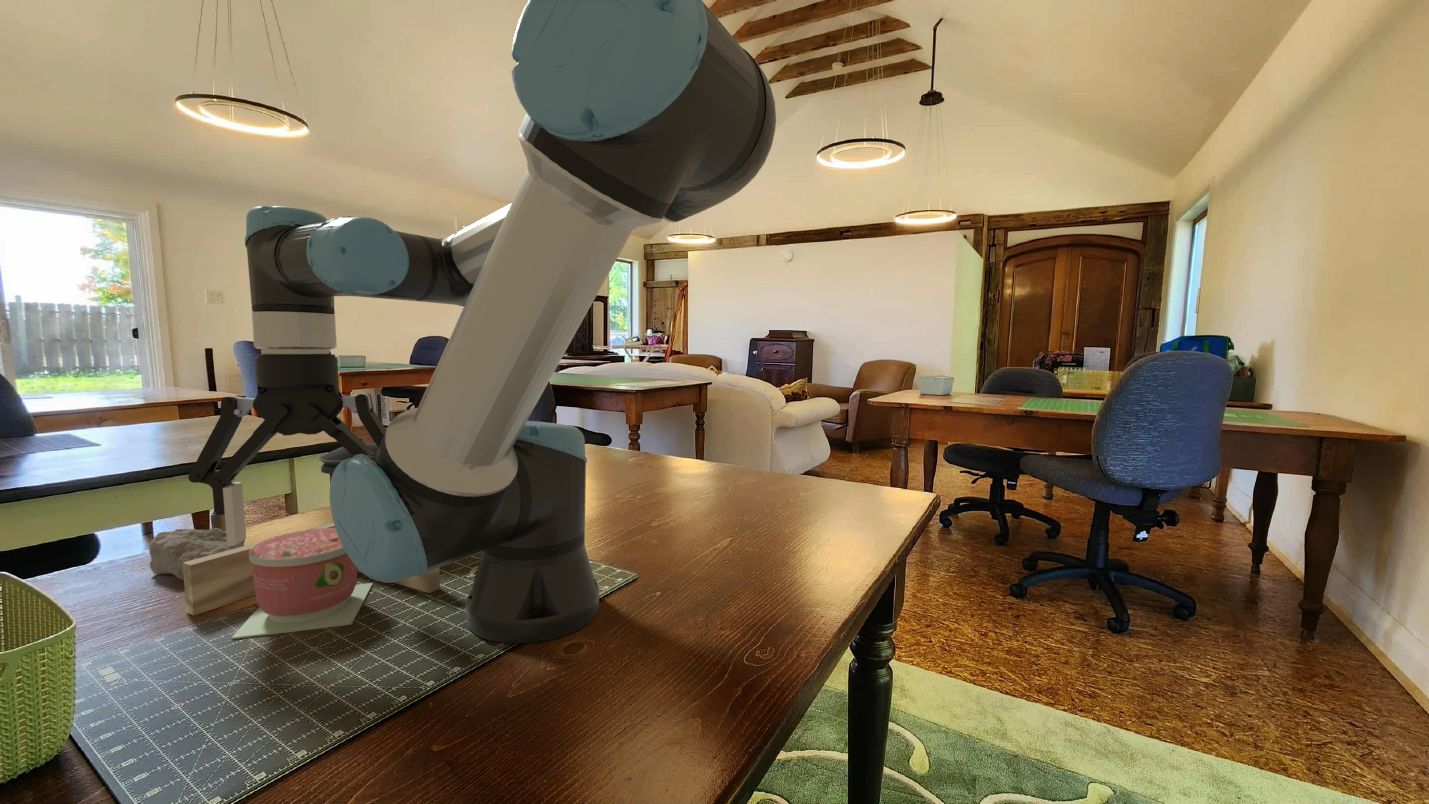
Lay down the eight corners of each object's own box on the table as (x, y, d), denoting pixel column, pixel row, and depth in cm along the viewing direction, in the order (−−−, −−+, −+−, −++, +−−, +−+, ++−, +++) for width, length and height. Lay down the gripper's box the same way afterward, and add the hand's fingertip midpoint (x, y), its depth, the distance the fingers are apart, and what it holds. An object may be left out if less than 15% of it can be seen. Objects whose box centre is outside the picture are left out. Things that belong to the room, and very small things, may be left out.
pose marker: (372, 584, 74) (372, 582, 74) (351, 624, 64) (351, 622, 64) (271, 594, 70) (271, 593, 70) (231, 639, 60) (231, 637, 60)
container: (238, 637, 60) (234, 564, 59) (267, 596, 70) (264, 532, 69) (354, 619, 64) (352, 551, 64) (367, 583, 74) (364, 523, 73)
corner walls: (439, 588, 74) (438, 543, 73) (287, 656, 57) (284, 599, 57) (343, 560, 82) (342, 519, 81) (186, 612, 65) (182, 562, 65)
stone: (214, 585, 73) (210, 541, 72) (126, 589, 71) (121, 544, 70) (255, 560, 81) (251, 520, 80) (176, 564, 79) (172, 523, 78)
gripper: (424, 352, 72) (431, 515, 74) (175, 351, 63) (190, 536, 65) (416, 352, 65) (424, 533, 67) (133, 352, 56) (152, 559, 58)
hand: (308, 535), depth 66 cm, fingers open, 13 cm apart
